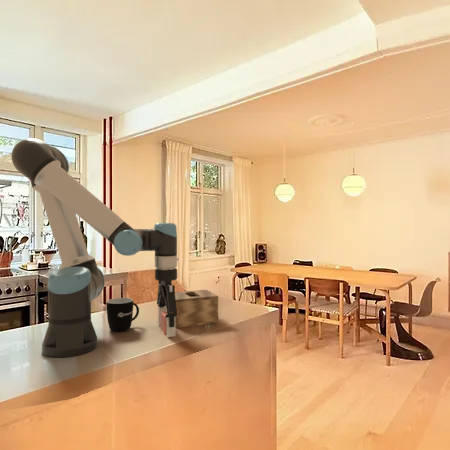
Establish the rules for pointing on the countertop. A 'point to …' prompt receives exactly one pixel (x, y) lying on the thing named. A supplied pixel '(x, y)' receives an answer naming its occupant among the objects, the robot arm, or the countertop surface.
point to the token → (164, 322)
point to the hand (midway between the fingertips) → (166, 330)
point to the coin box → (196, 308)
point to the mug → (120, 314)
